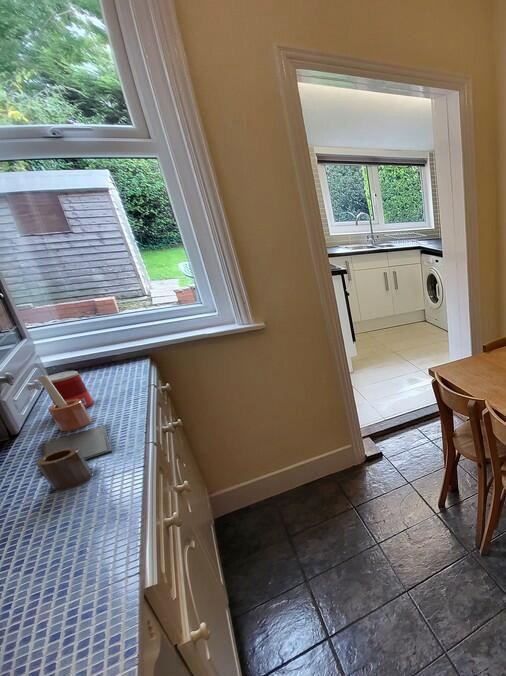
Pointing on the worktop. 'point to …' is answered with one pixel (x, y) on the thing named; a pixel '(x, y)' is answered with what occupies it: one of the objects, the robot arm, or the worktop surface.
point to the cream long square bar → (52, 391)
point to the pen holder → (70, 415)
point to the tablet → (82, 443)
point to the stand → (64, 468)
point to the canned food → (71, 387)
